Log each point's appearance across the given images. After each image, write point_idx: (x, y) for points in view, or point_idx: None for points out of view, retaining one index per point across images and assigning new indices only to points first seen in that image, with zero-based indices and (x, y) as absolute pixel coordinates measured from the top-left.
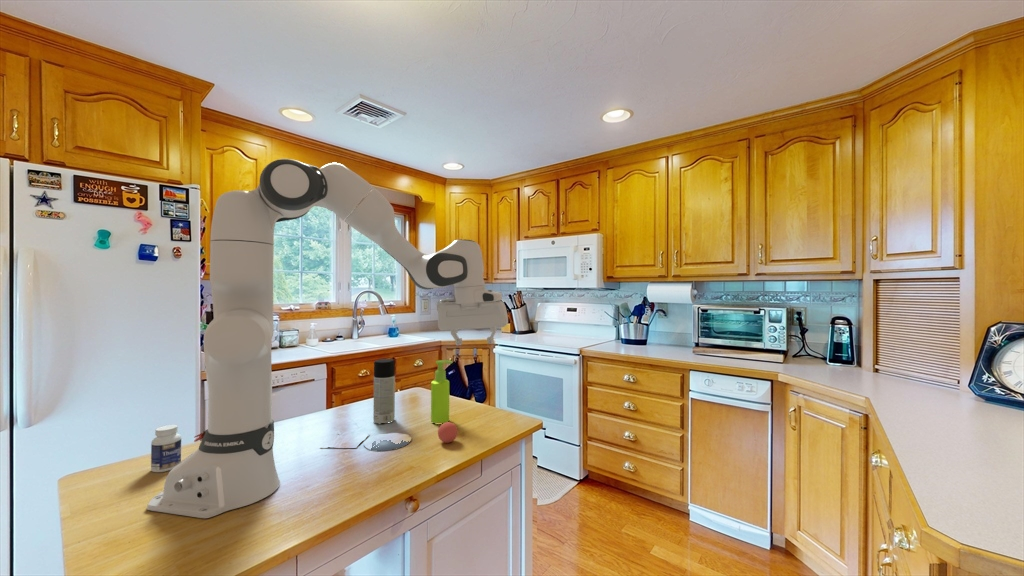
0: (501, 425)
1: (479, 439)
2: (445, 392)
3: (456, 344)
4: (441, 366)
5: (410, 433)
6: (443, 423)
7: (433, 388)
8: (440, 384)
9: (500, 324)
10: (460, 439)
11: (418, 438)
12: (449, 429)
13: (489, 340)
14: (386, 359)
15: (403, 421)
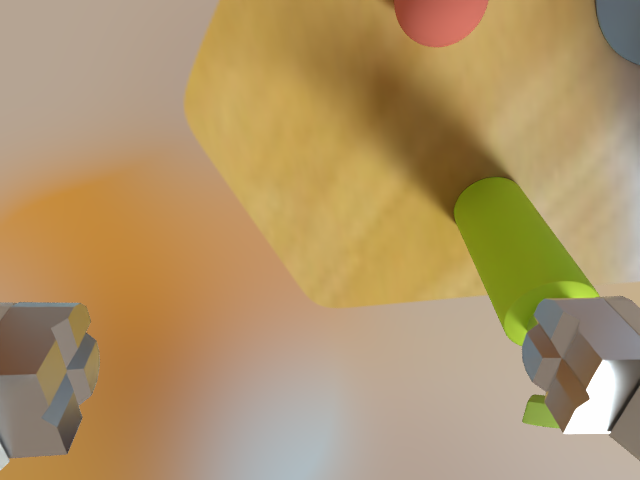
0: (246, 195)
1: (299, 40)
2: (506, 263)
3: (617, 297)
4: None
5: (602, 72)
6: (472, 4)
7: (577, 269)
8: (549, 281)
9: None
10: (380, 30)
11: (564, 18)
12: None
13: (10, 332)
14: None
15: (634, 193)
